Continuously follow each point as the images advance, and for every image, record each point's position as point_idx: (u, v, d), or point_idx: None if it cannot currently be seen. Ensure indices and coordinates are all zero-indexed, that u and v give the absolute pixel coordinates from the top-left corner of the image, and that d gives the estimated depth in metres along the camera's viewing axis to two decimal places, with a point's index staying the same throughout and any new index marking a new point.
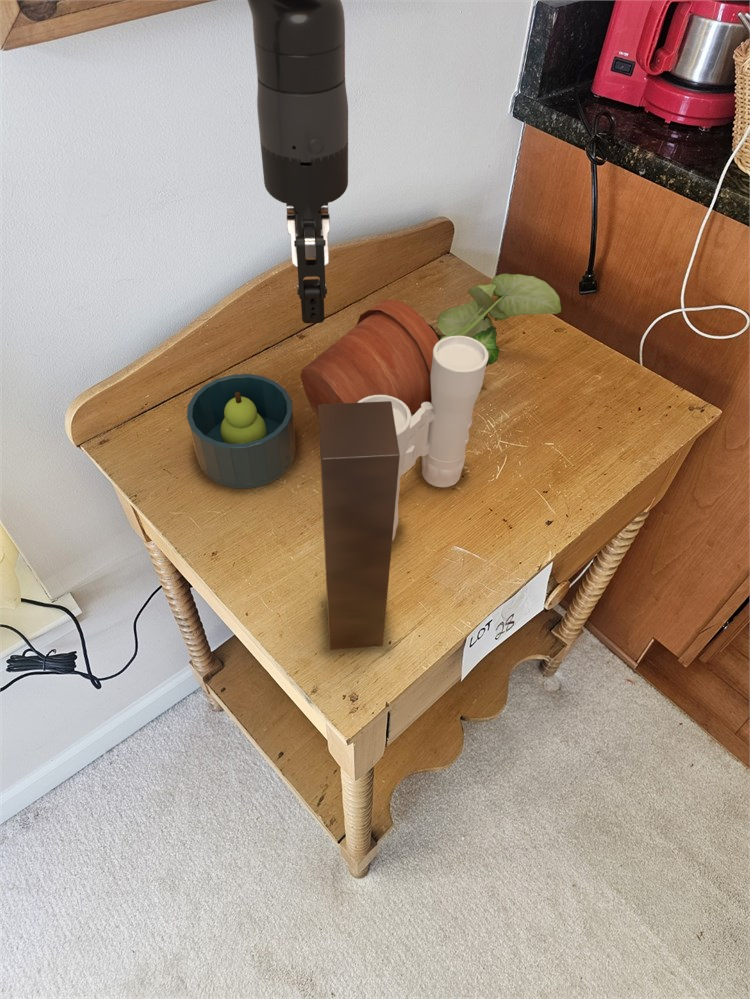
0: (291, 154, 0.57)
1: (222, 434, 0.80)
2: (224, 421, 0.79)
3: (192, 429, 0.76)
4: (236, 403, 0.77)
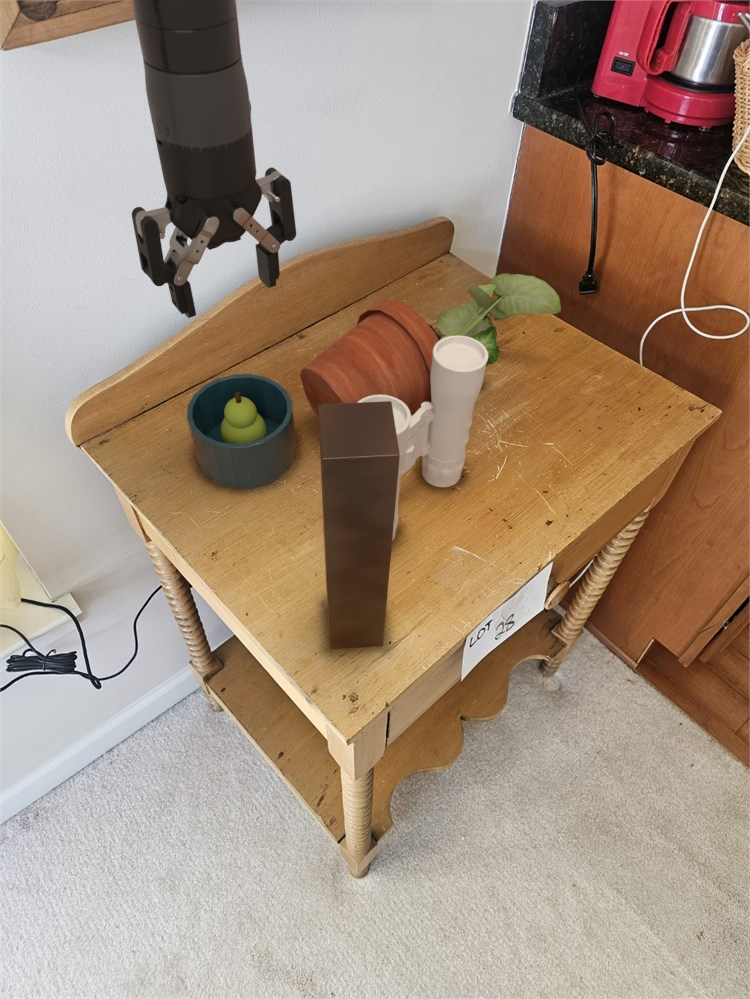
0: (153, 125, 0.53)
1: (222, 434, 0.80)
2: (224, 421, 0.79)
3: (192, 429, 0.76)
4: (236, 403, 0.77)
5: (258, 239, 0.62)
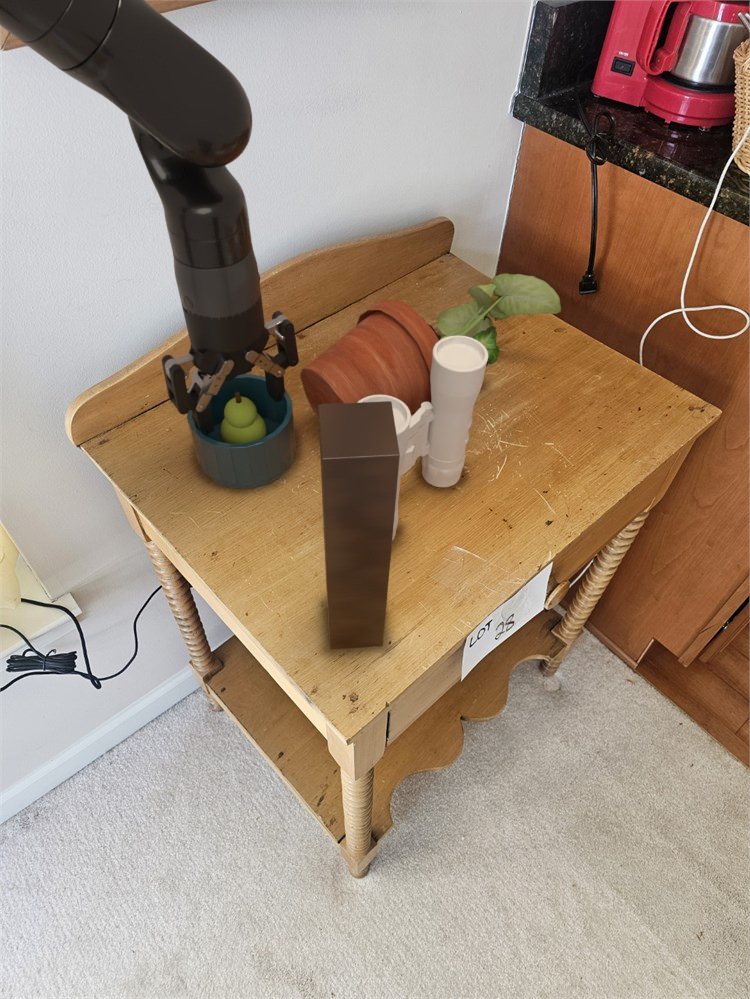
0: None
1: (222, 434, 0.80)
2: (224, 421, 0.79)
3: (192, 429, 0.76)
4: (236, 403, 0.77)
5: (266, 370, 0.74)
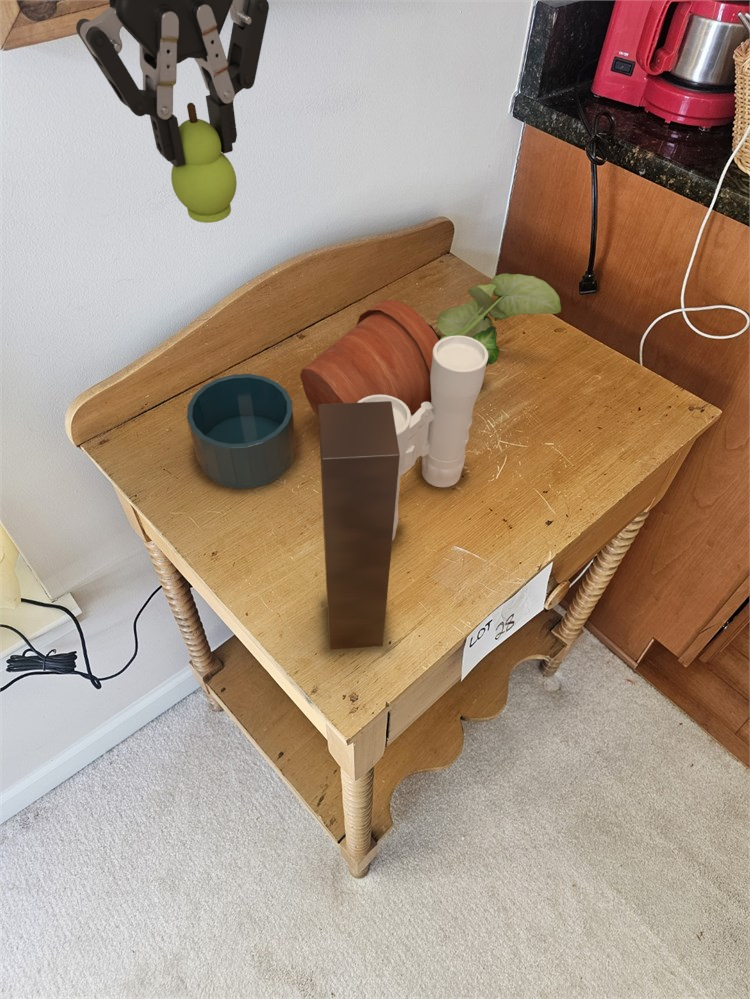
0: None
1: (173, 180, 0.56)
2: None
3: (192, 429, 0.76)
4: (191, 123, 0.54)
5: (214, 67, 0.50)
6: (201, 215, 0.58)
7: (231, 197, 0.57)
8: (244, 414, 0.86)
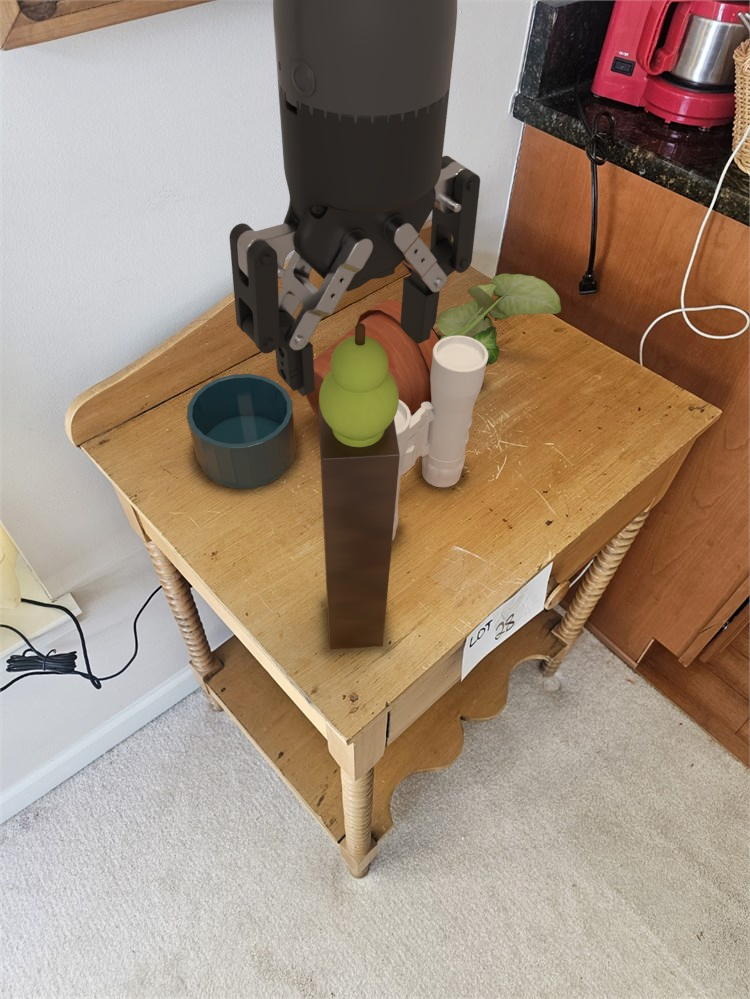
0: (279, 78, 0.29)
1: (324, 404, 0.44)
2: (328, 381, 0.44)
3: (192, 429, 0.76)
4: (357, 345, 0.42)
5: (421, 272, 0.39)
6: (353, 440, 0.46)
7: (392, 420, 0.46)
8: (244, 414, 0.86)
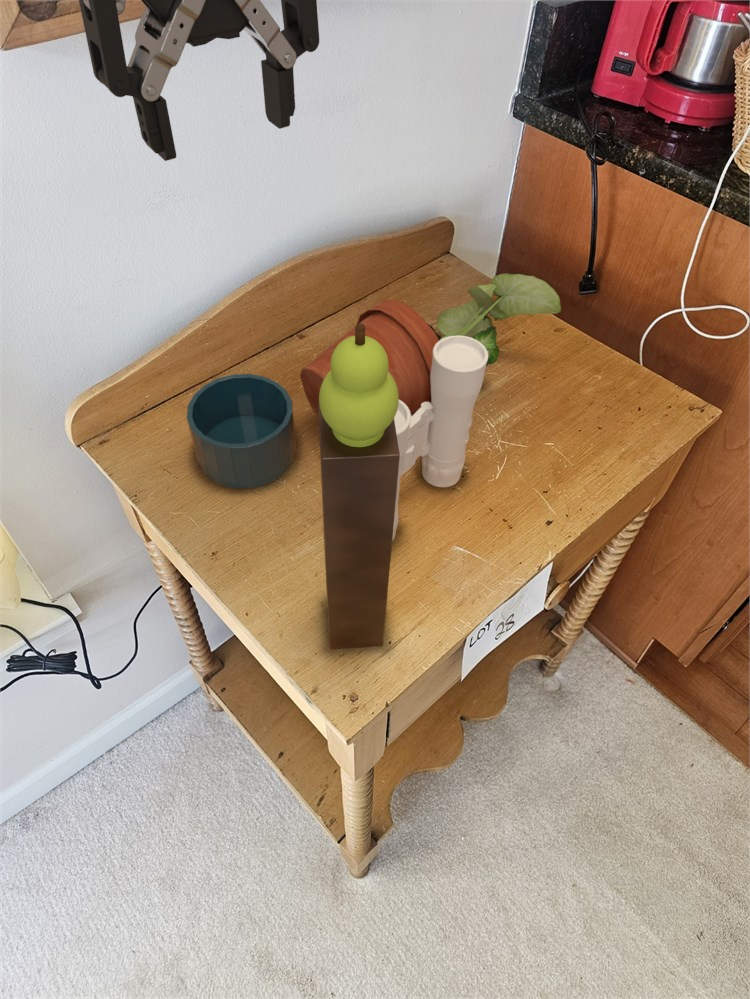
0: None
1: (324, 404, 0.44)
2: (328, 381, 0.44)
3: (192, 429, 0.76)
4: (357, 345, 0.42)
5: (265, 37, 0.43)
6: (353, 440, 0.46)
7: (392, 420, 0.46)
8: (244, 414, 0.86)
